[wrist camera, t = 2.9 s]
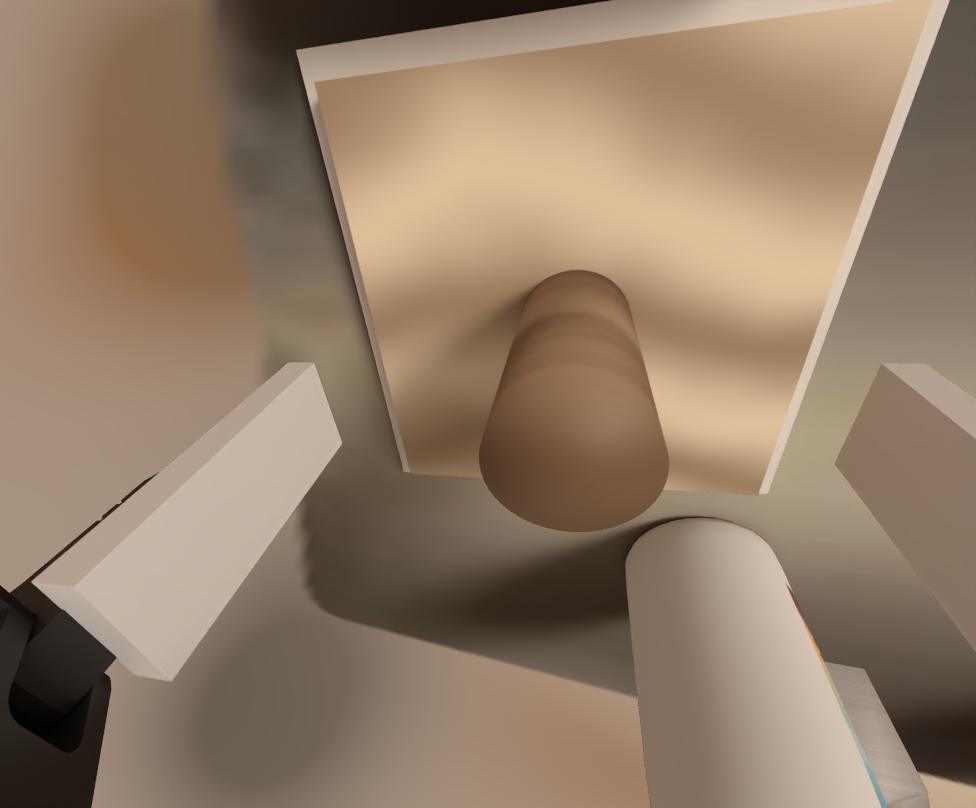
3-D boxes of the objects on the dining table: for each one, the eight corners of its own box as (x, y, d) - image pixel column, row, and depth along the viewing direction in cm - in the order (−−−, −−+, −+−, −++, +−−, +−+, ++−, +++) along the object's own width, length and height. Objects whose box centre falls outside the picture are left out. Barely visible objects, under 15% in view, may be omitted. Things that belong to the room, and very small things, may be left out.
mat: (762, 484, 20) (767, 493, 20) (407, 464, 24) (403, 471, 23) (951, -48, 11) (970, -57, 10) (305, 52, 14) (295, 49, 14)
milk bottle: (597, 567, 26) (627, 1353, 9) (682, 491, 21) (1024, 1719, 5) (705, 617, 26) (910, 1428, 10) (809, 552, 22) (1474, 1803, 6)
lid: (749, 476, 19) (856, 701, 12) (417, 458, 23) (335, 626, 15) (902, 6, 11) (1648, -264, 3) (333, 84, 14) (40, 39, 6)
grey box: (759, 703, 31) (824, 915, 22) (799, 656, 27) (895, 890, 19) (814, 714, 30) (902, 935, 22) (863, 668, 26) (991, 914, 18)
